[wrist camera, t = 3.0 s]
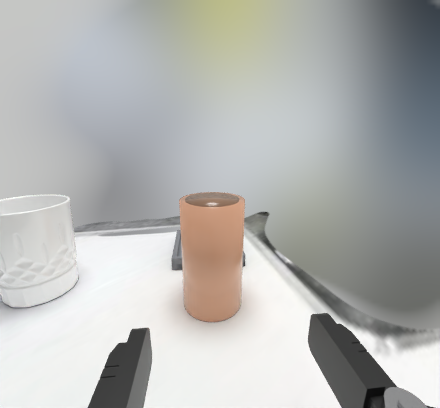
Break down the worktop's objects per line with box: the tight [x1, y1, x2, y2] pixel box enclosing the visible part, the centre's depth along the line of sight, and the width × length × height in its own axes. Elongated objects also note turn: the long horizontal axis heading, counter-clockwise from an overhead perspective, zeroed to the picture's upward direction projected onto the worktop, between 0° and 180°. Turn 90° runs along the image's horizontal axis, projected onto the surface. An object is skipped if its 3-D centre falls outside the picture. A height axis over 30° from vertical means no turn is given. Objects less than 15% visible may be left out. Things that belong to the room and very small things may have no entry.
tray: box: [172, 230, 245, 270], centre depth 34 cm, size 10×10×2 cm
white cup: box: [0, 195, 78, 307], centre depth 24 cm, size 8×8×10 cm
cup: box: [179, 192, 245, 322], centre depth 22 cm, size 6×6×11 cm
